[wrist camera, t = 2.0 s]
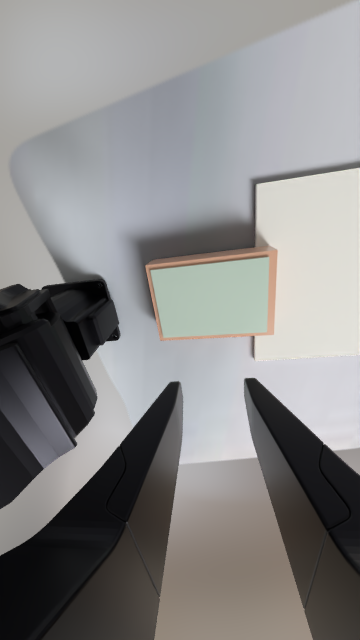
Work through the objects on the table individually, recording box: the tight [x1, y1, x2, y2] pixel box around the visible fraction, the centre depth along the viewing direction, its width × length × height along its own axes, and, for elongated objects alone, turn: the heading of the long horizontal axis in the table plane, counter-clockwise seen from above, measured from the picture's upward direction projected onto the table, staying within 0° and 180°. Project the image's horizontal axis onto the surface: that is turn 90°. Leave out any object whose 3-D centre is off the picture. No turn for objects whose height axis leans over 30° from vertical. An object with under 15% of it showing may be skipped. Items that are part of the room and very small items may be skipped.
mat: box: [254, 168, 360, 361], centre depth 19 cm, size 16×16×1 cm
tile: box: [145, 245, 278, 341], centre depth 19 cm, size 3×7×10 cm
